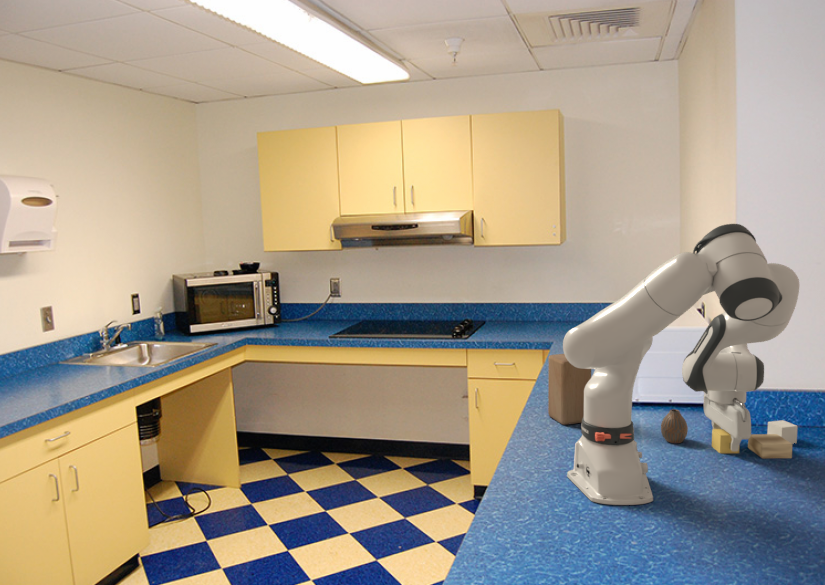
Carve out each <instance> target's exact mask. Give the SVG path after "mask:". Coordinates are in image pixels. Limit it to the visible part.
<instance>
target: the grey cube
mask: <svg viewBox="0 0 825 585" xmlns="http://www.w3.org/2000/svg"><path fill="white" fill-rule="evenodd" d="M766 432H767V433H766V434H778V435H779V436H781V437H782V438H784V439H785V440H787V441H788V442H790V443H791V444H792V445H794V443H795V444H798V443H797V441H798V425H796V424H793V423H792V422H788V421H786V420H783V419H782V420H773V421H767V431H766Z"/></svg>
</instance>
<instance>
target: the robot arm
mask: <svg viewBox="0 0 825 585" xmlns="http://www.w3.org/2000/svg"><path fill="white" fill-rule="evenodd" d="M799 291H800V279H799V276H798V275H797V274H796V272H795V271H794V270H793V269H791V268H790V267H788V266H787V265H784V264H780V263H776V262H775V263H774V262H773V263H772V262H771V263H768V261H767V258H766V256H765V254H764V252H763V250H762V249H761V247H760V246H759V245H758V243H757V240H756V237H755V235H753V233H752V232H751V231H750V230H749V229H748V228H747V227H746V226H744V225H742V224H740V223H739V224H738V223H729V224H728V223H726V224H723V225H719V226H716V227H715V228H713V229H712V230H710V231H709V232H707V233H706V234H705V235H704V236H703V237H702V239H701V240H699V241H698V242H697V243H696V244H695V246H694V248H693V251H692V252H690V251H689V252H688V251H685V252H680V253H678V254H676V255H675V256H674V255H673V257H671V258H669V259H667V260H666V261H664V262H663V263H661V264H660V265H659V266H658V265H657V267H656V268H655V269H653V270H652V271H651V272H649V273H648V274H647V275H646V276H645V277H644V278H643V279H641V280H640V281H639V282H638V283H637V284H636V285H635V286H633V287H632V288H631V289H630V290H628V292H627V293H625V295H623V296H622V297H621V298H619V299H617V300H616V301H615V302H612V303H611V304H609V305H608V306H606V307H605V308H603V309H601V310H600V311H598V312H597V313H596V314H594V315H593V316H591V317H590V318H588V319H587V320H585V321H583V322H582V323H580V324H578V325H577V326H575V327H572V328H571V329H569V330H568V331H567V332H566V334H565V335H564V338H563V341H562V350H563V351H562V352H563V354H565V357H566V358H567V360H568V361H569V363H570V364H572V365H573V366H574V367H577V368H581V369H591V370H594V371H593V374H591V379H590V380H589V381H588V382H587V384H586V386H585V388H584V417H583V418H582V423H580V424H581V425H580V428H581V429H580V430H581V431H580V432H581V434H582V435H581V436H580V438H579V439H578V440H577V441H576V442H575V444H574V445H575V446H574V460H573V469H571V470H568V471H567V475H566V476H567V478H568V479H569V480H570V481H571V482H572V483H573V484H574V485H575V486H576V487H577V488H578V489H579V490H580V491H581V492H582V493H583V495H585V496H586V498H588V499H589V500H590V501H591V502H593V503H598V504H603V505H613V506H629V505H630V506H634V505H644V504H648V503H651V502H653V501H654V496H653V492H652V490H651V489H652V488H651V486H650V483H649V480H648V476H647V474H648V473H649V472H648V471H649V469H648V468H649V466H648V462H643V461H642V462H641V459H642V458H643V452H642V451H638V443H637V441H636V440H635V428H634V423H633V420H632V415H633V414H632V409H633V407H632V406H633V393H634V386H635V382H636V378H637V375H638V373H639V369H640V366H641V363H642V361H643V359H644V357H645V356H646V354H647V352H648V351H650V349H651V347H652V345H653V337H654V336H656V335H659V333H661V332H662V331H663V330H665V329H666V328H668V326H670V325H671V324H672V323H673V322H675V321H676V320H677V319H678V318H680V317H681V316H682V315H684V314H685V313H686V312H687V311H688V310H689V311H690V309H691V308H692V307H693V306H694V305H696V303H697V302H698V301H699V300H701V298H702V297H703V296H704V295H707V294H710V293H713V292H714V293H715V294H716V296H717V298H718V299H719V305H720V307H721V308H722V309H723V313H720V314H718V315H717V316H715V317H714V318H713V319H712V320H711V321H710V323H709V324H708V326H707V327H706V329H705V330H704V332H703V333H702V334H701V336H700V338H699V340H698V341H697V343H696V344H695V346H694V348H693V349H692V350H691V352H689V353H688V354H687V355H686V356H685V357H684V360H683V363H682V367H681V376H682V380H683V382H684V384H686V386H688V387H689V388H690V390H693V391H694V392H703V393H704V394H703V412H704V416H705V417H706V418H707V419H709V420H710V421H711V426H712V429H724V430H725V431H726V432H728V433H729V434H730V435H731V439H732V441H731V443H729V449H730V450H731V451H738V450H739V451H740V444H741V442H742V440H748V439H749V438H750V436H751V434H752V421H751V413H750V411H749V409H748V408H747V407H746V404H745V403H746V402H747V393H748V392H755V391H756V390H757V389H759V388H760V387H761V386H762V385H763V384H764V380H765V379H764V378H765V364H764V362H763V361H762V360H761V359H760V358H759V357H758V356H756V355H755V354H752V353H751V351H750V350H749V348H748V344H754V343H763V342H768V341H771V340H773V339H775V338H777V337H778V336H779V335H781V333H782V332H784V331H785V329H786V328H787V326H788V325H789V323H790V320H791V318H792V316H793V314H794V312H795V309H796V306H797V302H798V299H799V293H800V292H799Z"/></svg>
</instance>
